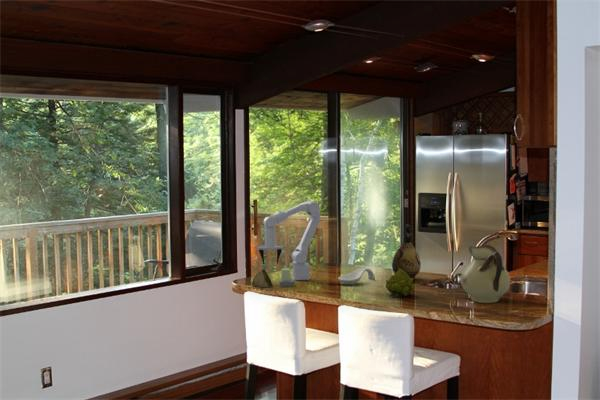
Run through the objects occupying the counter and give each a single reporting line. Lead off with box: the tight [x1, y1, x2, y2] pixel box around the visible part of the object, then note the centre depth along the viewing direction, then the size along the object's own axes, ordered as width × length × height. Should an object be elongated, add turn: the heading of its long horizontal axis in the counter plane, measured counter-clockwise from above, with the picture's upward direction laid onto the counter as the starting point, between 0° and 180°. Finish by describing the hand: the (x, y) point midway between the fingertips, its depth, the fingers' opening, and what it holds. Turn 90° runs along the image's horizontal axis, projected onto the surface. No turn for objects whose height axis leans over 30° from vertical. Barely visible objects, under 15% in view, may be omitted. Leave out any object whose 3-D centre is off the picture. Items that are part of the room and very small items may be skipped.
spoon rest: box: [337, 267, 376, 286], centre depth 390 cm, size 24×12×7 cm, turn 133°
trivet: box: [278, 278, 296, 288], centre depth 386 cm, size 8×8×3 cm
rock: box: [251, 268, 274, 288], centre depth 384 cm, size 11×9×10 cm
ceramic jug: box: [391, 224, 421, 281], centre depth 396 cm, size 17×15×30 cm
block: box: [281, 267, 292, 281], centre depth 386 cm, size 4×4×6 cm
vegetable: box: [385, 268, 416, 298], centre depth 353 cm, size 15×16×15 cm
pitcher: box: [460, 244, 511, 304], centre depth 337 cm, size 22×24×25 cm
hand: (270, 263), depth 398 cm, fingers open, 7 cm apart
